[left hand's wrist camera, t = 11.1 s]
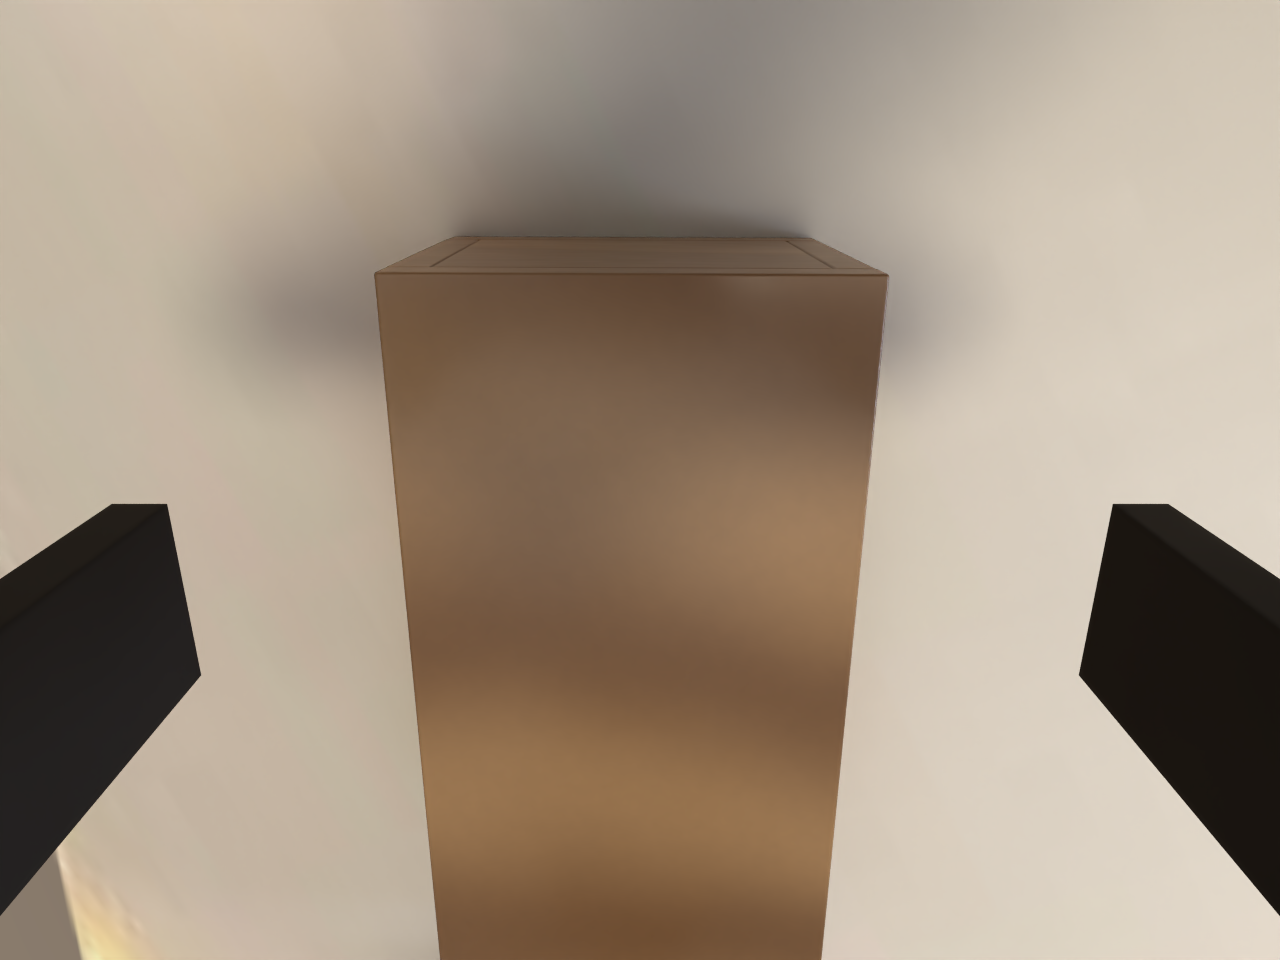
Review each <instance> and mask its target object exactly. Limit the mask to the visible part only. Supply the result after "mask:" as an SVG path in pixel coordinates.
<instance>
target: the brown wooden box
mask: <svg viewBox="0 0 1280 960" xmlns="http://www.w3.org/2000/svg"><path fill="white" fill-rule="evenodd" d="M374 276H375V287H376V297H377V308H378V318H379V328H380V339H381V349H382V360H383V370H384V380H385V391H386V401H387V411H388V422H389V432H390V443H391V453H392V463H393V474H394V484H395V495H396V505H397V515H398V526H399V536H400V546H401V557H402V567H403V578H404V588H405V598H406V609H407V619H408V630H409V640H410V650H411V661H412V671H413V681H414V692H415V702H416V713H417V723H418V733H419V744H420V754H421V765H422V775H423V785H424V796H425V806H426V816H427V827H428V837H429V848H430V858H431V868H432V879H433V889H434V899H435V910H436V920H437V931H438V941H439V951H440V960H821V957H822V947H823V937H824V927H825V917H826V907H827V897H828V887H829V877H830V867H831V857H832V846H833V836H834V826H835V816H836V806H837V796H838V786H839V776H840V766H841V756H842V746H843V736H844V726H845V716H846V706H847V696H848V686H849V675H850V665H851V655H852V645H853V635H854V625H855V615H856V605H857V595H858V585H859V575H860V565H861V555H862V545H863V535H864V525H865V515H866V504H867V494H868V484H869V474H870V464H871V454H872V444H873V434H874V424H875V414H876V404H877V394H878V384H879V374H880V364H881V354H882V344H883V333H884V323H885V313H886V303H887V293H888V283H889V275H888V274H886V273H884V272H882V271H879V270H877V269H874V268H872V267H870V266H868V265H866V264H864V263H862V262H860V261H858V260H856V259H854V258H852V257H850V256H848V255H845V254H843V253H841V252H839V251H837V250H835V249H833V248H831V247H829V246H827V245H825V244H823V243H821V242H818V241H816V240H814V239H812V238H665V237H453V238H450V239H447V240H444V241H442V242H440V243H438V244H436V245H434V246H431V247H429V248H427V249H425V250H423V251H420V252H418V253H416V254H414V255H412V256H410V257H407V258H405V259H403V260H401V261H399V262H397V263H394V264H392V265H390V266H388V267H386V268H384V269H382V270H380V271H378V272H375V274H374Z"/></svg>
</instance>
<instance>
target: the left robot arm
mask: <svg viewBox="0 0 1280 960" xmlns="http://www.w3.org/2000/svg"><path fill="white" fill-rule="evenodd" d="M200 676H201V672H200V667H199V662H198V657H197V652H196V647H195V642H194V637H193V632H192V627H191V622H190V617H189V612H188V607H187V602H186V597H185V592H184V587H183V582H182V577H181V572H180V567H179V562H178V557H177V552H176V547H175V542H174V537H173V532H172V527H171V521H170V516H169V511H168V506H167V504H111V505H110V506H108V507H107V508H105V509H104V510H102V511H101V512H99V513H98V514H96V515H95V516H93V517H92V518H90V519H89V520H87V521H86V522H84V523H83V524H81V525H80V526H78V527H77V528H75V529H74V530H72V531H71V532H69V533H68V534H66V535H65V536H63V537H62V538H61V539H59V540H58V541H56V542H55V543H53V544H52V545H50V546H49V547H47V548H46V549H44V550H43V551H41V552H40V553H38V554H37V555H35V556H34V557H32V558H31V559H29V560H28V561H26V562H25V563H23V564H22V565H20V566H19V567H17V568H16V569H14V570H13V571H11V572H10V573H8V574H7V575H5V576H4V577H2V578H1V579H0V915H1V914H2V913H3V912H4V911H5V910H6V908H7V907H8V906H9V905H10V903H11V902H12V901H13V900H14V899H15V898H16V896H17V895H18V894H19V893H20V892H21V890H22V889H23V888H24V887H25V886H26V884H27V883H28V882H29V881H30V880H31V878H32V877H33V876H34V875H35V874H36V872H37V871H38V870H39V869H40V868H41V866H42V865H43V864H44V863H45V862H46V860H47V859H48V858H49V857H50V855H51V854H52V853H53V852H54V851H55V850H56V848H57V847H58V846H59V845H60V844H61V842H62V841H63V840H64V839H65V838H66V836H67V835H68V834H69V833H70V832H71V830H72V829H73V828H74V827H75V826H76V824H77V823H78V822H79V821H80V820H81V818H82V817H83V816H84V815H85V814H86V812H87V811H88V810H89V809H90V808H91V806H92V805H93V804H94V803H95V802H96V800H97V799H98V798H99V797H100V796H101V794H102V793H103V792H104V791H105V790H106V789H107V787H108V786H109V785H110V784H111V783H112V781H113V780H114V779H115V778H116V777H117V775H118V774H119V773H120V772H121V771H122V769H123V768H124V767H125V766H126V765H127V763H128V762H129V761H130V760H131V759H132V757H133V756H134V755H135V754H136V753H137V751H138V750H139V749H140V748H141V747H142V745H143V744H144V743H145V742H146V741H147V739H148V738H149V737H150V736H151V735H152V733H153V732H154V731H155V730H156V729H157V727H158V726H159V725H160V724H161V723H162V721H163V720H164V719H165V718H166V717H167V715H168V714H169V713H170V712H171V711H172V709H173V708H174V707H175V706H176V705H177V703H178V702H179V701H180V700H181V699H182V697H183V696H184V695H185V694H186V693H187V691H188V690H189V689H190V688H191V687H192V685H193V684H194V683H195V682H196V681H197V679H198V678H199V677H200ZM1079 676H1080V677H1081V678H1082V679H1083V681H1084V682H1085V683H1086V684H1087V685H1088V687H1089V688H1090V689H1091V690H1092V691H1093V693H1094V694H1095V695H1096V696H1097V697H1098V699H1099V700H1100V701H1101V702H1102V703H1103V705H1104V706H1105V707H1106V708H1107V709H1108V711H1109V712H1110V713H1111V714H1112V715H1113V717H1114V718H1115V719H1116V720H1117V721H1118V723H1119V724H1120V725H1121V726H1122V727H1123V729H1124V730H1125V731H1126V732H1127V733H1128V735H1129V736H1130V737H1131V738H1132V739H1133V741H1134V742H1135V743H1136V744H1137V745H1138V747H1139V748H1140V749H1141V750H1142V751H1143V753H1144V754H1145V755H1146V756H1147V757H1148V759H1149V760H1150V761H1151V762H1152V763H1153V765H1154V766H1155V767H1156V768H1157V769H1158V771H1159V772H1160V773H1161V774H1162V775H1163V777H1164V778H1165V779H1166V780H1167V781H1168V783H1169V784H1170V785H1171V786H1172V787H1173V789H1174V790H1175V791H1176V792H1177V793H1178V794H1179V796H1180V797H1181V798H1182V799H1183V800H1184V802H1185V803H1186V804H1187V805H1188V806H1189V808H1190V809H1191V810H1192V811H1193V812H1194V814H1195V815H1196V816H1197V817H1198V818H1199V820H1200V821H1201V822H1202V823H1203V824H1204V826H1205V827H1206V828H1207V829H1208V830H1209V832H1210V833H1211V834H1212V835H1213V836H1214V838H1215V839H1216V840H1217V841H1218V842H1219V844H1220V845H1221V846H1222V847H1223V848H1224V850H1225V851H1226V852H1227V853H1228V854H1229V856H1230V857H1231V858H1232V859H1233V860H1234V862H1235V863H1236V864H1237V865H1238V866H1239V868H1240V869H1241V870H1242V871H1243V872H1244V874H1245V875H1246V876H1247V877H1248V878H1249V880H1250V881H1251V882H1252V883H1253V884H1254V886H1255V887H1256V888H1257V889H1258V890H1259V892H1260V893H1261V894H1262V895H1263V896H1264V898H1265V899H1266V900H1267V901H1268V902H1269V904H1270V905H1271V906H1272V907H1273V908H1274V910H1275V911H1276V912H1277V913H1278V914H1279V916H1280V579H1279V578H1278V577H1276V576H1275V575H1273V574H1272V573H1270V572H1269V571H1267V570H1266V569H1264V568H1263V567H1261V566H1260V565H1258V564H1257V563H1255V562H1254V561H1252V560H1251V559H1249V558H1248V557H1246V556H1245V555H1243V554H1242V553H1240V552H1239V551H1237V550H1236V549H1234V548H1233V547H1231V546H1230V545H1228V544H1227V543H1225V542H1224V541H1222V540H1221V539H1219V538H1218V537H1217V536H1215V535H1214V534H1212V533H1211V532H1209V531H1208V530H1206V529H1205V528H1203V527H1202V526H1200V525H1199V524H1197V523H1196V522H1194V521H1193V520H1191V519H1190V518H1188V517H1187V516H1185V515H1184V514H1182V513H1181V512H1179V511H1178V510H1176V509H1175V508H1173V507H1172V506H1170V505H1169V504H1113V506H1112V511H1111V516H1110V521H1109V527H1108V532H1107V537H1106V542H1105V547H1104V552H1103V557H1102V562H1101V567H1100V572H1099V577H1098V582H1097V587H1096V592H1095V597H1094V602H1093V607H1092V612H1091V617H1090V622H1089V627H1088V632H1087V637H1086V642H1085V647H1084V652H1083V657H1082V662H1081V667H1080V672H1079Z"/></svg>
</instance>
